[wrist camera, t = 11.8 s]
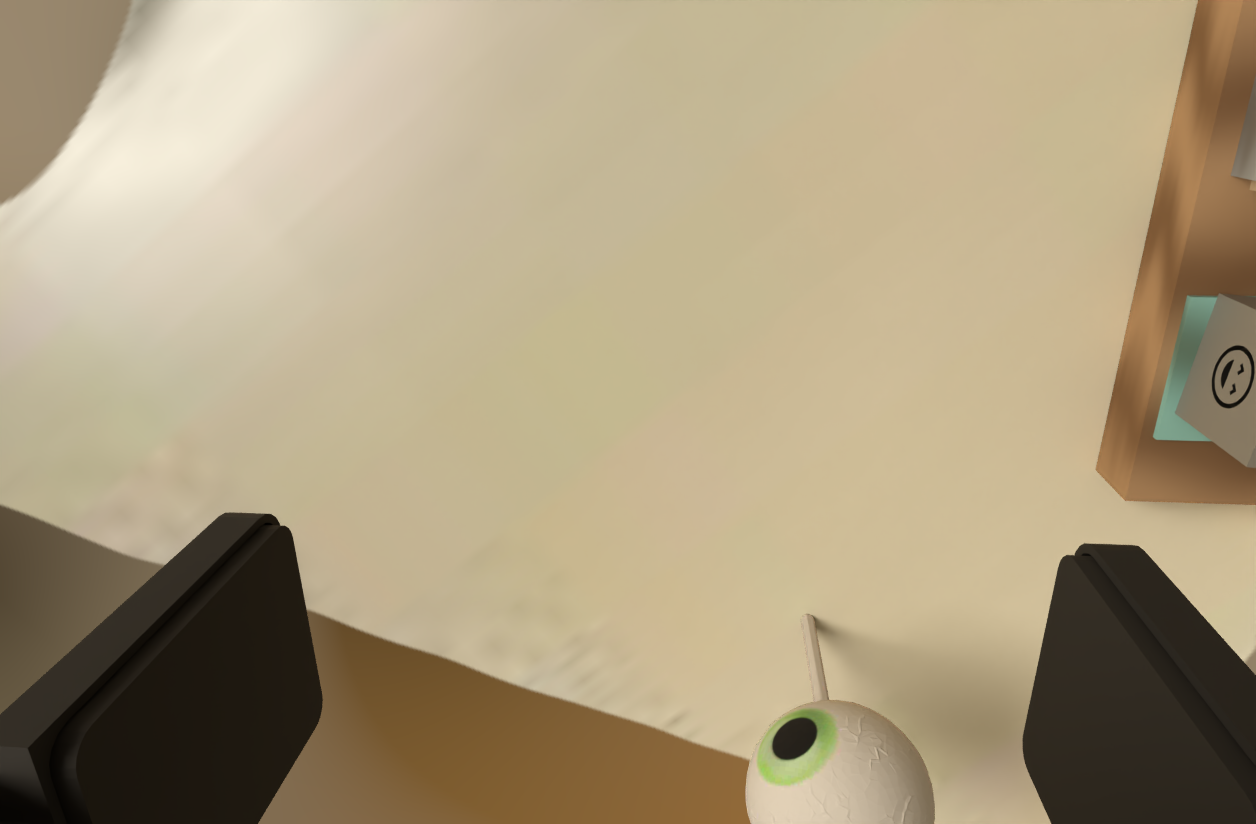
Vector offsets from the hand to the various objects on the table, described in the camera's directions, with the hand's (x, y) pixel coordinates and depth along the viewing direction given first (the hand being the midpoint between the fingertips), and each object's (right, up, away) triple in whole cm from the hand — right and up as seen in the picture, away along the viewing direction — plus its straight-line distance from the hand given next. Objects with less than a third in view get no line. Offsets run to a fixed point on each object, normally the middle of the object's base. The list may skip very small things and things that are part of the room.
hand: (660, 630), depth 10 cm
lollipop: (+9, -8, +33) cm, 35 cm away
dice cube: (+25, +5, +23) cm, 34 cm away
